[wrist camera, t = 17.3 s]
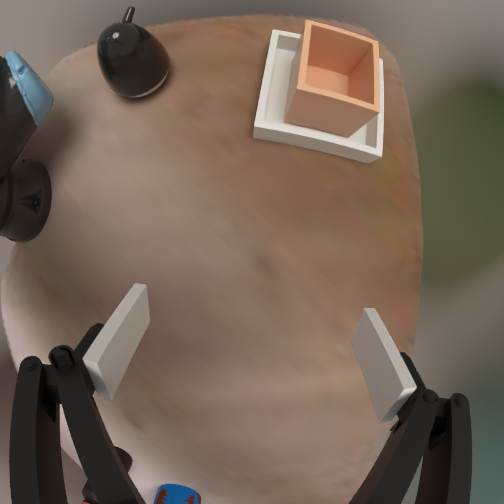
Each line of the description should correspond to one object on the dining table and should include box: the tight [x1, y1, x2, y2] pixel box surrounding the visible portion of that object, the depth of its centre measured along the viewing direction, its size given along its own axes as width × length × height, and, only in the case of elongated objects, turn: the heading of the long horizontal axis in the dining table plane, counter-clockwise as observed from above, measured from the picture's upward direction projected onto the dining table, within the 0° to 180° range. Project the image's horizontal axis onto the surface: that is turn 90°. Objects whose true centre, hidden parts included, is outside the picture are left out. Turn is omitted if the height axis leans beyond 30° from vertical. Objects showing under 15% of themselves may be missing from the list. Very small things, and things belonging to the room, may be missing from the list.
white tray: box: [253, 29, 384, 164], centre depth 35 cm, size 18×18×5 cm
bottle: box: [81, 447, 132, 504], centre depth 33 cm, size 7×7×20 cm
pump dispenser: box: [97, 7, 170, 97], centre depth 29 cm, size 10×10×15 cm
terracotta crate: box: [283, 20, 380, 138], centre depth 31 cm, size 10×12×11 cm
